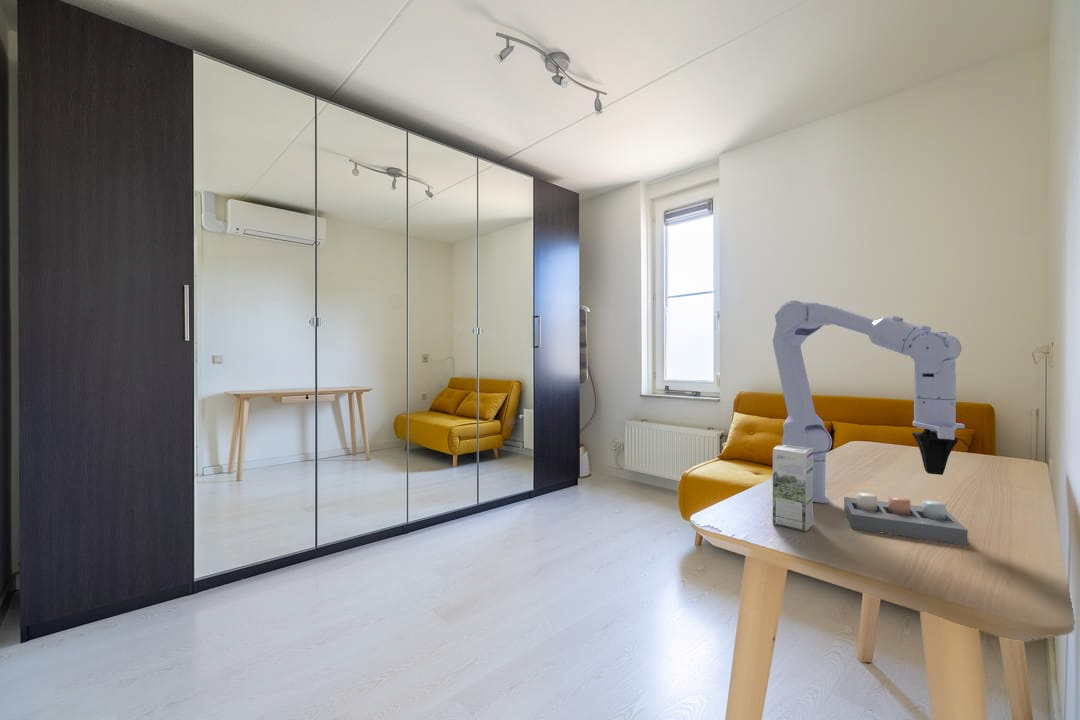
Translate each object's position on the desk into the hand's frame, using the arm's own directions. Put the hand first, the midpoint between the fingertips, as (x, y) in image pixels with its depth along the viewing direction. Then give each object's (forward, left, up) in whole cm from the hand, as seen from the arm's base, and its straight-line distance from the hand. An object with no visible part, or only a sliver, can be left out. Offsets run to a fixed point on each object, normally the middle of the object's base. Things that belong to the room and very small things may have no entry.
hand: (934, 473), depth 82 cm
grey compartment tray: (-5, 0, -10) cm, 12 cm away
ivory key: (-10, 0, -8) cm, 13 cm away
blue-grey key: (0, 0, -8) cm, 8 cm away
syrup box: (-22, -9, -11) cm, 26 cm away
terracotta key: (-5, 0, -8) cm, 10 cm away
